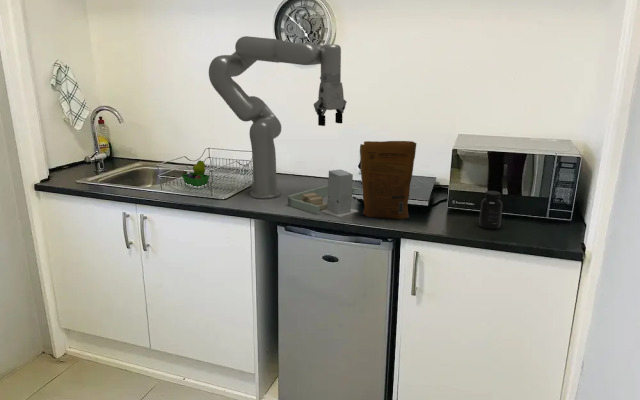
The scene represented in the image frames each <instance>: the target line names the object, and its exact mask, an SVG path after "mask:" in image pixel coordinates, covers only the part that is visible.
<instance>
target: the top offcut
mask: <svg viewBox="0 0 640 400" xmlns="http://www.w3.org/2000/svg"><path fill="white" fill-rule="evenodd" d="M302 201H304V202H307V203H310V204H313V205H323V203H324V197H320V196H318V195H317V194H315V193H310V194H302Z"/></svg>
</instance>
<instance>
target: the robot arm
mask: <svg viewBox="0 0 640 400" xmlns="http://www.w3.org/2000/svg"><path fill="white" fill-rule="evenodd" d="M234 49H235V51H234V52H233V53H231V54H221V55H217V56H216V57H214V58H213V59H212V60H211V62H210V63H209V67H208V78H209V81H210V84H211V86H212V87H213V89H214V90H215V91H216V93H217V94H218V95H219V96H220V97H221V98H222V100H224V102H225V103H226V105H227V106H228V108H230V110H232V112H233V113H234V114H235V116H236V117H237V118H238V119H239V120H241V121H242V122H252V124H251V126H250V128H249V134H248V135H249V141H250V146H251V157H252V159H251V160H252V175H253V176H252V179H253V182H251V183H250V184H249V187H250V188H252V191H250V193H249V194H250V197H251V198H255V199H261V200H262V199H264V200H265V199H274V198H277V197H279V196H280V195H281V190H279V189H278V188H277V184H278V183H277V157H276V155H277V154H276V147H275V142H274V141H275V140H274V139H277V137H279V136H280V135H281V132H282V124H281V121H280V120H279V118H278V117H277V116H276V115H275V114H274V112H273V111H272V110H271V108H270V107H269V106H268V105H267V104H266V103H265V102H264V100H262V99H261V98H259V97H258V96H254V95H250V96H249V95H248V94H247V93H246V91H244V89H243V88H242V87H241V86H240V85H239V84H238V83H237V82H236V81H235V80H234V79H233V78H236V77H238V76H240V75H242V74H243V73H245V72H246V71H247V70H248V69H249V68H250V67H252V66H253V64H255V63H256V62H257V61H259V62H260V61H261V62H269V63H277V64H279V63H283V64H293V65H300V66H312V65H313V66H315V65H320V77H319V79H320V83H319V88H318V97H317V98H318V100H317V101H315V102H314V103H313V109H314V111H315V112H316V115H317V116H318V117H317V125H318V126H320V127H325V126H326V115H325V114H326V112H327V111H334V110H335V111H336V112H335V113H334V114H335V115H334V116H335V121H334V122H335V123H336V124H343V114H344V111H345V109H346V105H347V100H345V97H344V95H345V94H344V87H343V82H341V75H342V72H341V71H342V69H341V68H342V60H341V59H342V48H341V46H340V45H339V44H333V43H331V44H323V45H321V44H315V43H303V42H291V41H284V40H280V39H277V38H270V37H269V38H268V37H257V36H247V35H246V36H245V35H244V36H241V37H239V38H238V39H237V41H236V42H235V45H234Z"/></svg>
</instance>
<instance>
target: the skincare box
mask: <svg viewBox="0 0 640 400" xmlns="http://www.w3.org/2000/svg"><path fill="white" fill-rule="evenodd" d="M353 179H354V174H352V173H350V172H348V171H347V170H344V169H332V170H328V180H327V181H328V183H327V185H328V196H327V202H326V204H327V209H329V210H331V211H333V212H335V213H337V214H343V213H348V212H351V209H352V199H353V198H352V187H353V181H354V180H353Z"/></svg>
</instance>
